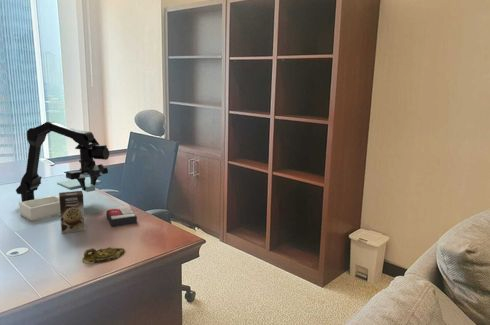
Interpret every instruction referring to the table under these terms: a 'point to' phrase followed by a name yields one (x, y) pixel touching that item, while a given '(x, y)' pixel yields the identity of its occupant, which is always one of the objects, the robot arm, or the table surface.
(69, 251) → the table surface
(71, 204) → the coffee box
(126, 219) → the black box
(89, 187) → the lid
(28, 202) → the tub
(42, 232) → the table surface
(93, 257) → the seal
